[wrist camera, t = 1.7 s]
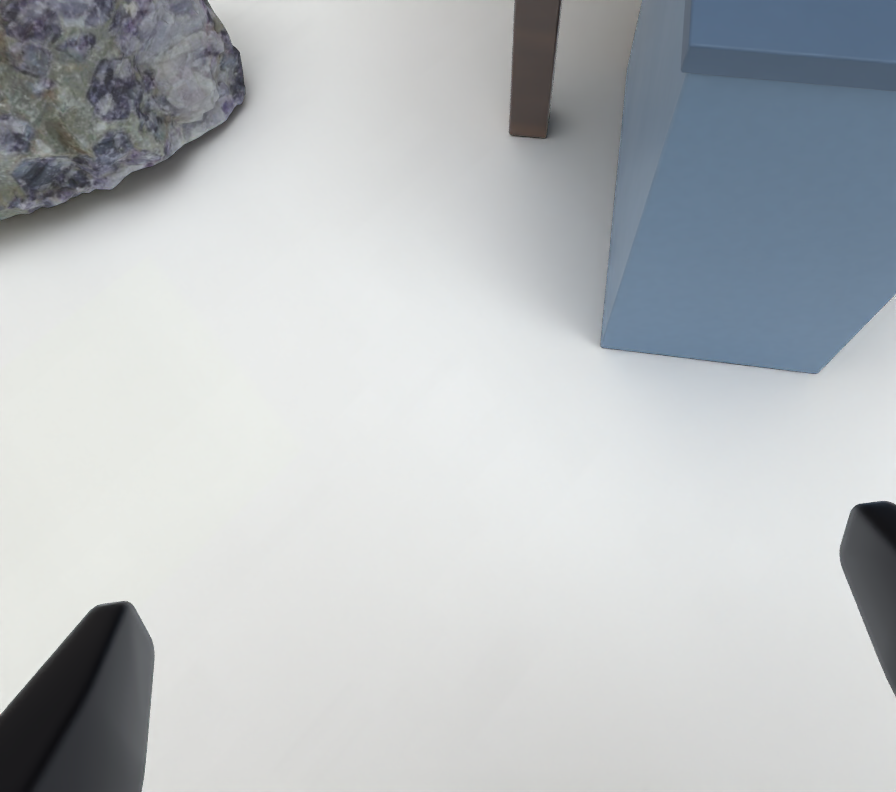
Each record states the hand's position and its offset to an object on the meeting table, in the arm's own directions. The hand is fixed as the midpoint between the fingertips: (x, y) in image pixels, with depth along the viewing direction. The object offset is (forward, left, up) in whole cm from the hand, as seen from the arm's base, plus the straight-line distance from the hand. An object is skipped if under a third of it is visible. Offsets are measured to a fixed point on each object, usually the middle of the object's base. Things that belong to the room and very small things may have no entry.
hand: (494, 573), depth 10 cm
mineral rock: (+24, -1, -14) cm, 28 cm away
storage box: (+6, -16, -14) cm, 22 cm away
